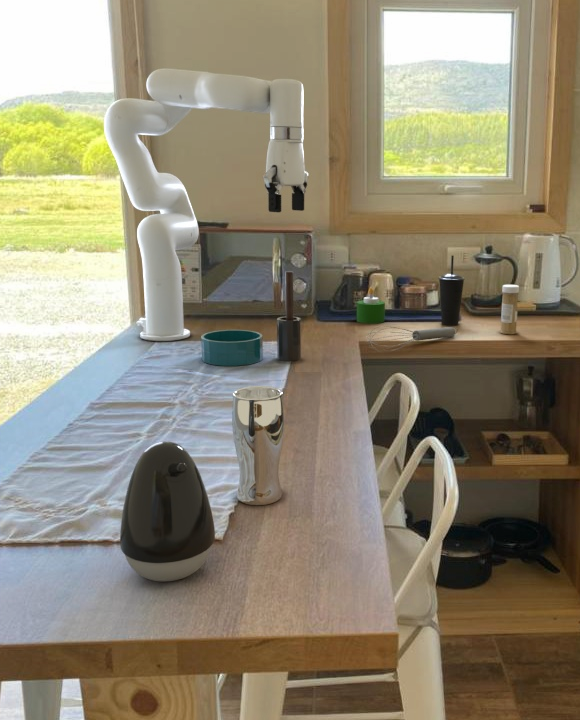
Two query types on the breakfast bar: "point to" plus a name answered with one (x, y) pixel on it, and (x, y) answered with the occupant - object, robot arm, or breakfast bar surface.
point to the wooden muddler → (289, 295)
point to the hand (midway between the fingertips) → (286, 211)
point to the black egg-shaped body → (166, 515)
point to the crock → (288, 339)
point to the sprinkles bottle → (509, 309)
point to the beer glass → (258, 442)
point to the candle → (370, 309)
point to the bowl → (232, 347)
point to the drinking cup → (450, 296)
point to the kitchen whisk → (420, 335)
